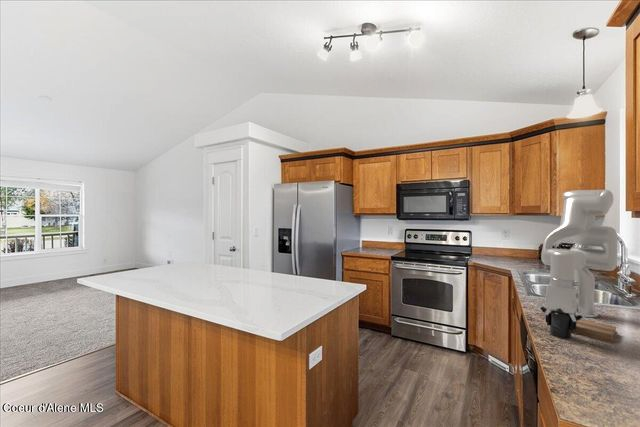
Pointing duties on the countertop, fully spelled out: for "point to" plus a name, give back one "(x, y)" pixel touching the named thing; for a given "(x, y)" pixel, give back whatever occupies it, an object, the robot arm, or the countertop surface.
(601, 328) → the walnut pedestal
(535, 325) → the countertop surface
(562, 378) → the countertop surface
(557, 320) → the supplement bottle
